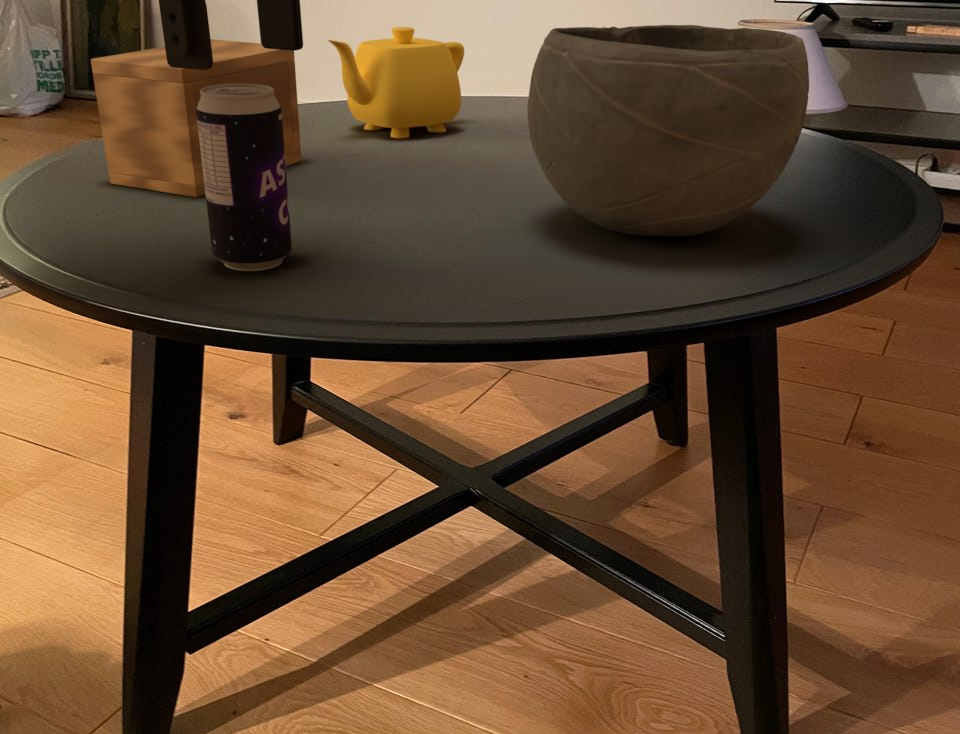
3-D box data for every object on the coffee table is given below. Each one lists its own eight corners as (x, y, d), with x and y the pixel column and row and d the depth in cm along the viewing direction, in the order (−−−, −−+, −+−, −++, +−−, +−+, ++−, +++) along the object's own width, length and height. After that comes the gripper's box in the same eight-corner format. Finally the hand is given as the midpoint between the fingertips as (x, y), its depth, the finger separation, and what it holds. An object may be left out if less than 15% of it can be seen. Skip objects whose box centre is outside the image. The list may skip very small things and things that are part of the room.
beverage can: (274, 278, 72) (258, 99, 66) (199, 270, 73) (178, 93, 67) (304, 254, 77) (293, 85, 71) (234, 247, 78) (217, 80, 72)
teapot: (361, 149, 108) (357, 39, 102) (306, 131, 115) (299, 28, 110) (492, 128, 118) (494, 27, 113) (433, 113, 125) (432, 18, 120)
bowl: (835, 232, 84) (872, 35, 77) (670, 287, 71) (696, 58, 64) (638, 182, 97) (654, 10, 90) (472, 221, 85) (474, 25, 78)
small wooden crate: (110, 183, 94) (90, 58, 88) (221, 149, 106) (209, 38, 101) (197, 197, 90) (181, 68, 85) (301, 161, 103) (294, 46, 97)
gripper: (245, -239, 68) (270, 39, 76) (43, -271, 54) (101, 72, 63) (341, -244, 65) (356, 45, 73) (154, -279, 51) (199, 81, 60)
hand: (239, 57), depth 68 cm, fingers open, 9 cm apart
